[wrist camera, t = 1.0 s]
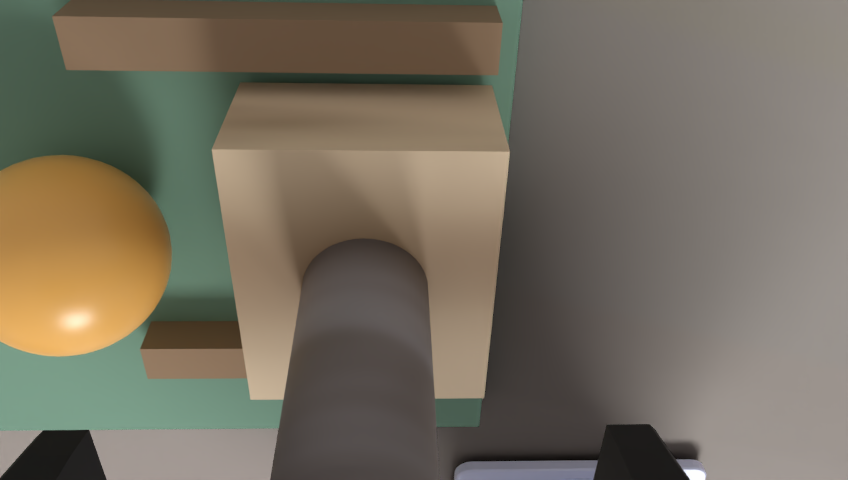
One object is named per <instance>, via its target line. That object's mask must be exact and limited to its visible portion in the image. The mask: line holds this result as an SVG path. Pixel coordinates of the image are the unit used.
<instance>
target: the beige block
mask: <svg viewBox="0 0 848 480" xmlns="http://www.w3.org/2000/svg"><path fill="white" fill-rule="evenodd" d="M212 155H213V161H214V168H215V174H216V181H217V187H218V194H219V200H220V206H221V213H222V219H223V226H224V232H225V239H226V245H227V252H228V258H229V264H230V271H231V277H232V284H233V290H234V297H235V303H236V309H237V316H238V322H239V329H240V335H241V342H242V348H243V354H244V361H245V367H246V374H247V380H248V387H249V393H250V399H251V400H283V405H282V411H281V417H280V424H279V430H278V436H277V442H276V448H275V454H274V460H273V467H272V473H271V479H270V480H440V476H439V459H438V443H437V426H436V410H435V399H451V398H484V395H485V385H486V376H487V366H488V357H489V347H490V338H491V328H492V319H493V309H494V300H495V290H496V281H497V271H498V262H499V252H500V242H501V233H502V223H503V214H504V204H505V195H506V185H507V176H508V166H509V157H510V150H509V146H508V142H507V139H506V135H505V131H504V128H503V124H502V120H501V116H500V113H499V109H498V105H497V102H496V98H495V94H494V91H493V87H492V85H424V84H338V83H251V82H240V84H239V86H238V89H237V91H236V94H235V96H234V98H233V101H232V103H231V105H230V108H229V110H228V112H227V115H226V117H225V119H224V122H223V124H222V126H221V129H220V131H219V133H218V136H217V138H216V140H215V143H214V145H213V147H212Z"/></svg>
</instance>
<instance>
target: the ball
mask: <svg viewBox="0 0 848 480" xmlns="http://www.w3.org/2000/svg"><path fill="white" fill-rule="evenodd" d="M171 263H172V246H171V239H170V233H169V230H168V226H167V223H166V221H165V219H164V217H163V215H162V212H161V210H160V209H159V207H158V205H157V204H156V202H155V201H154V199H153V198H152V197H151V196H150V194H149V193H148V192H147V191H146V190H145V189H144V188H143V187H142V186H141V185H140V184H139V183H138V182H136V181H135V180H134V179H133V178H131V177H130V176H129V175H127V174H125V173H124V172H122V171H121V170H119V169H117V168H115V167H113V166H111V165H108V164H106V163H103V162H101V161H97V160H94V159H90V158H86V157H80V156H74V155H50V156H41V157H36V158H31V159H28V160H25V161H22V162H19V163H16V164H13V165H11V166H9V167H7V168H5V169H3V170H1V171H0V342H2V343H4V344H6V345H8V346H10V347H13V348H15V349H18V350H21V351H25V352H28V353H32V354H37V355H43V356H56V357H61V356H74V355H81V354H86V353H90V352H94V351H97V350H100V349H103V348H105V347H108V346H110V345H112V344H114V343H116V342H117V341H119V340H121V339H123V338H124V337H126V336H128V335H129V334H130V333H132V332H133V331H134V330H135V329H137V328H138V327H139V326H140V325H141V324H142V323H143V322H144V321H145V320H146V319H147V318H148V317H149V315H150V314H151V313H152V312H153V310H154V309H155V307H156V306H157V304H158V303H159V301H160V299H161V297H162V295H163V293H164V291H165V289H166V286H167V283H168V280H169V276H170V271H171Z"/></svg>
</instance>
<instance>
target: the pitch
mask: <svg viewBox="0 0 848 480" xmlns="http://www.w3.org/2000/svg"><path fill="white" fill-rule="evenodd" d="M522 5H523V0H0V171H1V170H3V169H5V168H7V167H9V166H11V165H13V164H16V163H19V162H22V161H25V160H28V159H31V158H36V157H41V156H50V155H74V156H80V157H86V158H90V159H94V160H97V161H101V162H103V163H106V164H108V165H111V166H113V167H115V168H117V169H119V170H121V171H122V172H124V173H125V174H127V175H129V176H130V177H131V178H133V179H134V180H135V181H136V182H138V183H139V184H140V185H141V186H142V187H143V188H144V189H145V190H146V191H147V192H148V193H149V194H150V196H151V197H152V198H153V199H154V201H155V202H156V204H157V205H158V207H159V209H160V210H161V212H162V215H163V217H164V219H165V221H166V223H167V226H168V230H169V233H170V239H171V246H172V263H171V271H170V276H169V280H168V283H167V286H166V289H165V291H164V293H163V295H162V297H161V299H160V301H159V303H158V304H157V306H156V307H155V309H154V310H153V312H152V313H151V314H150V315H149V317H148V318H147V319H146V320H145V321H144V322H143V323H142V324H141V325H140V326H139V327H138V328H137V329H135V330H134V331H133V332H132V333H130V334H129V335H128V336H126V337H124V338H123V339H121V340H119V341H117V342H116V343H114V344H112V345H110V346H108V347H105V348H103V349H100V350H97V351H94V352H90V353H86V354H81V355H74V356H61V357H56V356H43V355H37V354H32V353H28V352H25V351H21V350H18V349H15V348H13V347H10V346H8V345H6V344H4V343H2V342H0V431H6V430H127V429H249V428H279V424H280V417H281V411H282V405H283V400H251V399H250V393H249V387H248V380H247V374H246V367H245V361H244V354H243V348H242V342H241V335H240V329H239V322H238V316H237V309H236V303H235V297H234V290H233V284H232V277H231V271H230V264H229V258H228V252H227V245H226V239H225V232H224V226H223V219H222V213H221V206H220V200H219V194H218V187H217V181H216V174H215V168H214V161H213V155H212V147H213V145H214V143H215V140H216V138H217V136H218V133H219V131H220V129H221V126H222V124H223V122H224V119H225V117H226V115H227V112H228V110H229V108H230V105H231V103H232V101H233V98H234V96H235V94H236V91H237V89H238V86H239V84H240V82H251V83H338V84H424V85H492V87H493V91H494V94H495V98H496V102H497V105H498V109H499V113H500V116H501V120H502V124H503V128H504V131H505V135H506V139H507V142H508V141H509V131H510V122H511V112H512V102H513V93H514V83H515V73H516V63H517V54H518V44H519V34H520V24H521V15H522ZM481 404H482V398H451V399H435V410H436V426H437V427H479V423H480V414H481Z"/></svg>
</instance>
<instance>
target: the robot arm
mask: <svg viewBox="0 0 848 480" xmlns="http://www.w3.org/2000/svg"><path fill="white" fill-rule="evenodd" d="M705 479H706V471H705V469H704V467H703V465H702V463H701V462H699V461H697V460H693V459H675V458H674V456H673V455H672V453H671V452H670V450H669V449H668V448H667V446H666V445H665V443H664V442H663V440H662V439H661V438H660V436H659V435H658V433H657V432H656V430H655V429H654V428H653V427H652V426H651V425H650V424H636V425H607V427H606V431H605V435H604V439H603V443H602V447H601V451H600V455H599V458H598V460H565V461H471V462H465V463H463V464H460V465H459V466H458V467H457V468H456V470H455V474H454V480H705ZM0 480H106V477H105V474H104V471H103V469H102V466H101V463H100V460H99V457H98V454H97V451H96V449H95V446H94V443H93V440H92V437H91V434H90V432H89V430H44V431H42V432H41V433H40V434H39V435H38V436H37V437H36V438H35V439H34V441H33V442H32V443H31V444H30V445H29V446H28V447H27V448H26V449H25V451H24V452H23V453H22V454H21V455H20V456H19V457H18V458H17V459H16V461H15V462H14V463H13V464H12V465H11V466H10V467H9V469H8V470H7V471H6V472H5V473H4V474H3V475H2V476H1V478H0Z"/></svg>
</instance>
